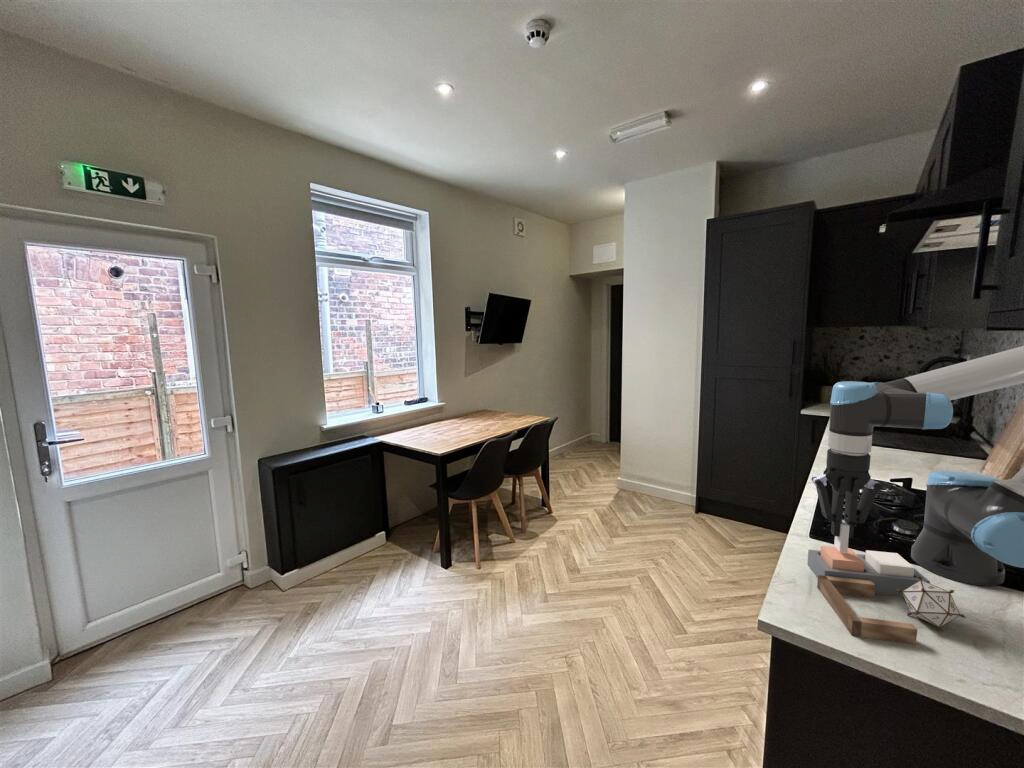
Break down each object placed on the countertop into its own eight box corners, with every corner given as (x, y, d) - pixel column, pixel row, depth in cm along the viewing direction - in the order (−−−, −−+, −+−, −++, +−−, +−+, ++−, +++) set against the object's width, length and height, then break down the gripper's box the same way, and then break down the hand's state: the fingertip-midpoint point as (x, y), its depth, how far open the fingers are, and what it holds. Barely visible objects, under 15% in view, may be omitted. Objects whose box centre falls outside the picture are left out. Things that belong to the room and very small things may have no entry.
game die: (914, 631, 83) (894, 577, 88) (974, 635, 78) (949, 577, 82) (908, 630, 78) (888, 572, 83) (972, 634, 72) (946, 572, 77)
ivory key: (896, 565, 94) (897, 553, 94) (913, 580, 89) (914, 567, 88) (865, 562, 96) (865, 550, 96) (879, 577, 90) (880, 564, 90)
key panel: (901, 574, 95) (902, 558, 95) (928, 598, 87) (929, 581, 86) (807, 564, 101) (808, 549, 100) (823, 586, 92) (824, 570, 92)
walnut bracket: (870, 593, 89) (871, 580, 89) (916, 644, 75) (917, 629, 75) (817, 587, 92) (817, 575, 92) (851, 635, 78) (852, 620, 78)
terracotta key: (849, 560, 97) (850, 548, 96) (863, 574, 91) (864, 562, 91) (820, 557, 98) (821, 545, 98) (832, 571, 93) (832, 559, 92)
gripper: (874, 447, 93) (865, 544, 96) (807, 444, 97) (801, 537, 100) (894, 457, 86) (884, 561, 89) (822, 454, 89) (814, 554, 93)
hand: (840, 549), depth 94 cm, fingers closed
